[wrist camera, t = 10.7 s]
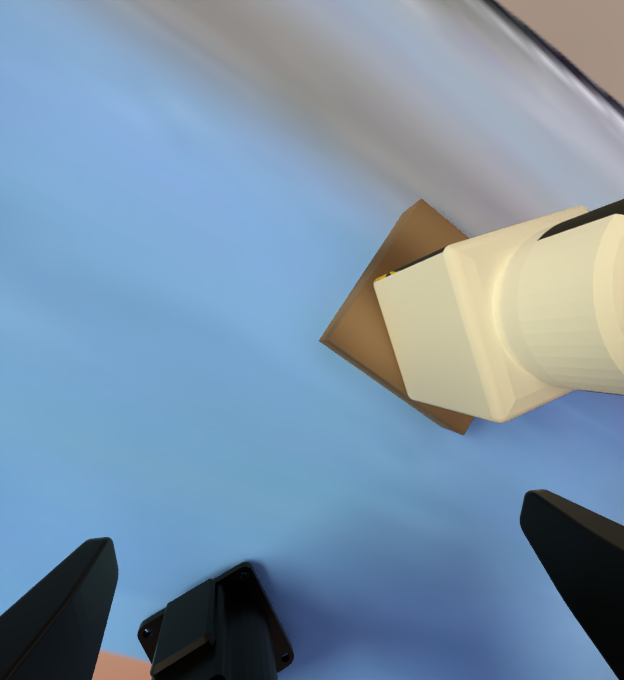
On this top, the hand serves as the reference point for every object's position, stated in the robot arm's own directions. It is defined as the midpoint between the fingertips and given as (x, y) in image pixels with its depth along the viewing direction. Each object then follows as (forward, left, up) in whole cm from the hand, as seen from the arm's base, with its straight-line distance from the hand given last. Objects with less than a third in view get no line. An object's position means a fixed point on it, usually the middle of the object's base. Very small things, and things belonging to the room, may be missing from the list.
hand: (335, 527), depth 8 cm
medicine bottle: (+1, -11, -11) cm, 16 cm away
